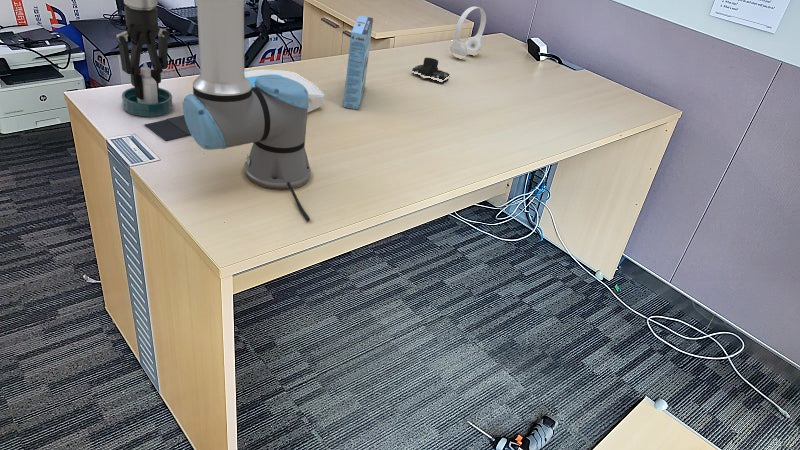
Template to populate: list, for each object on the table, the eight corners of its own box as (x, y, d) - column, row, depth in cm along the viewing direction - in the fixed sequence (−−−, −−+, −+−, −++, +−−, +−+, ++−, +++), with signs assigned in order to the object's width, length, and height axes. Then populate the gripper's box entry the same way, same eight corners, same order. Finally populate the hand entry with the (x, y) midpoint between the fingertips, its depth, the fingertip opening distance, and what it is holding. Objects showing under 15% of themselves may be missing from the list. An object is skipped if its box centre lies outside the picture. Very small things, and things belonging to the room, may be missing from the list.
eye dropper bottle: (142, 111, 158) (139, 67, 152) (136, 103, 162) (133, 59, 155) (159, 110, 161) (157, 66, 154) (153, 101, 164) (150, 59, 158)
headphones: (483, 57, 249) (495, 7, 238) (458, 63, 236) (470, 12, 226) (469, 51, 253) (480, 2, 242) (444, 57, 240) (454, 6, 229)
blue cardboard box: (358, 110, 183) (368, 35, 170) (341, 107, 183) (350, 32, 170) (364, 87, 199) (374, 17, 187) (349, 84, 199) (358, 14, 186)
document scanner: (201, 98, 172) (200, 77, 168) (283, 84, 190) (284, 65, 186) (241, 127, 160) (241, 105, 157) (324, 110, 178) (326, 90, 175)
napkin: (208, 130, 156) (208, 129, 156) (165, 141, 148) (165, 139, 148) (187, 116, 161) (187, 114, 161) (144, 125, 153) (144, 123, 153)
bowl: (181, 111, 163) (180, 99, 161) (138, 121, 154) (137, 108, 152) (157, 95, 169) (156, 83, 167) (114, 103, 160) (113, 90, 158)
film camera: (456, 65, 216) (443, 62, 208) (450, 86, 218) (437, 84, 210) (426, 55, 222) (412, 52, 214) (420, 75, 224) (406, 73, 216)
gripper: (164, -1, 154) (168, 85, 167) (99, 3, 143) (109, 96, 156) (180, 7, 151) (183, 95, 163) (114, 13, 139) (123, 107, 152)
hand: (147, 95), depth 160 cm, fingers closed on eye dropper bottle, 4 cm apart
